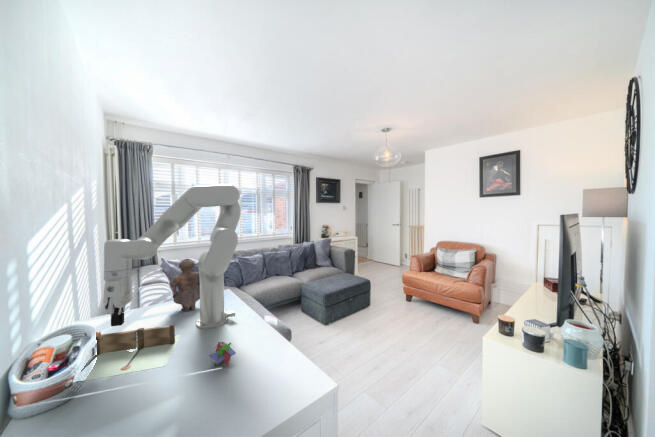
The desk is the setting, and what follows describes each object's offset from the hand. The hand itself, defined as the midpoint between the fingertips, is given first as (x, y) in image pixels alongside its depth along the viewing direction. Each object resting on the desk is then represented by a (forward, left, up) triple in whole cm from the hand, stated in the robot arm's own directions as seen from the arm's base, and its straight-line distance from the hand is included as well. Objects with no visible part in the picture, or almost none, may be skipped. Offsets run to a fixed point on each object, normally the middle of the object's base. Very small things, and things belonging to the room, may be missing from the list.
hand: (117, 324), depth 85 cm
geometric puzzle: (-37, +23, -8) cm, 44 cm away
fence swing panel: (-2, +5, -7) cm, 9 cm away
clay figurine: (-17, -28, -8) cm, 33 cm away
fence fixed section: (-13, +5, -7) cm, 16 cm away
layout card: (-8, +9, -8) cm, 14 cm away
